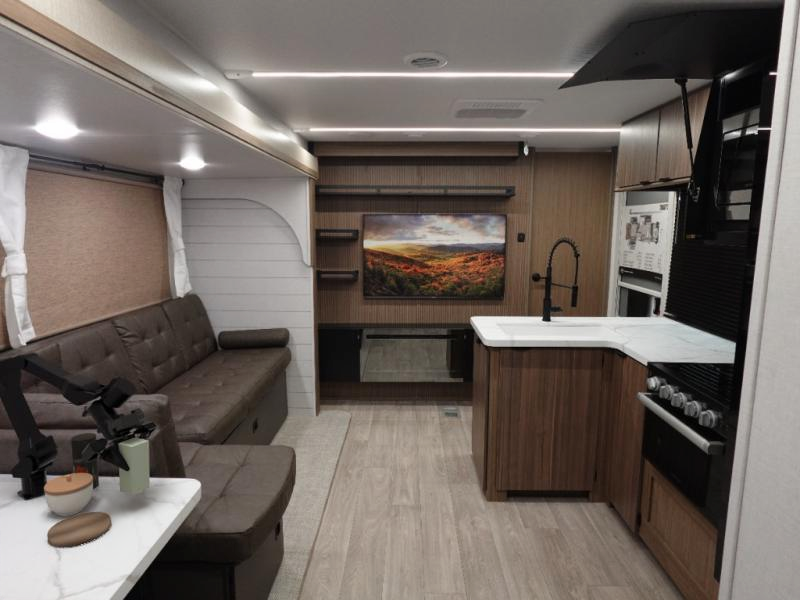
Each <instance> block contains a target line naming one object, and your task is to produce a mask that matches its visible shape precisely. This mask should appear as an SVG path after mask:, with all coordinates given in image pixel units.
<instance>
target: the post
mask: <svg viewBox="0 0 800 600" xmlns="http://www.w3.org/2000/svg"><path fill="white" fill-rule="evenodd" d="M119 451H120V453H121V454H122V456H123V457H124V459H125V461H126V462H127V464H128V466H129V468H130V470H129V471H125V470H123V469H121V468H119V467H118V470H119V473H118V474H119V492H121V493H124V494H126V495H130V496H132V497H133V496H135V495H138V494H139V493H142V492H144V491H146V490H149V489H150V488H151V485H150V484H151V482H150V479H151V478H150V440H148V439H146V440H144V439H140V438H137V437H136V438H133V439H130V440H127V441H124V442H121V443H119Z"/></svg>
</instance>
